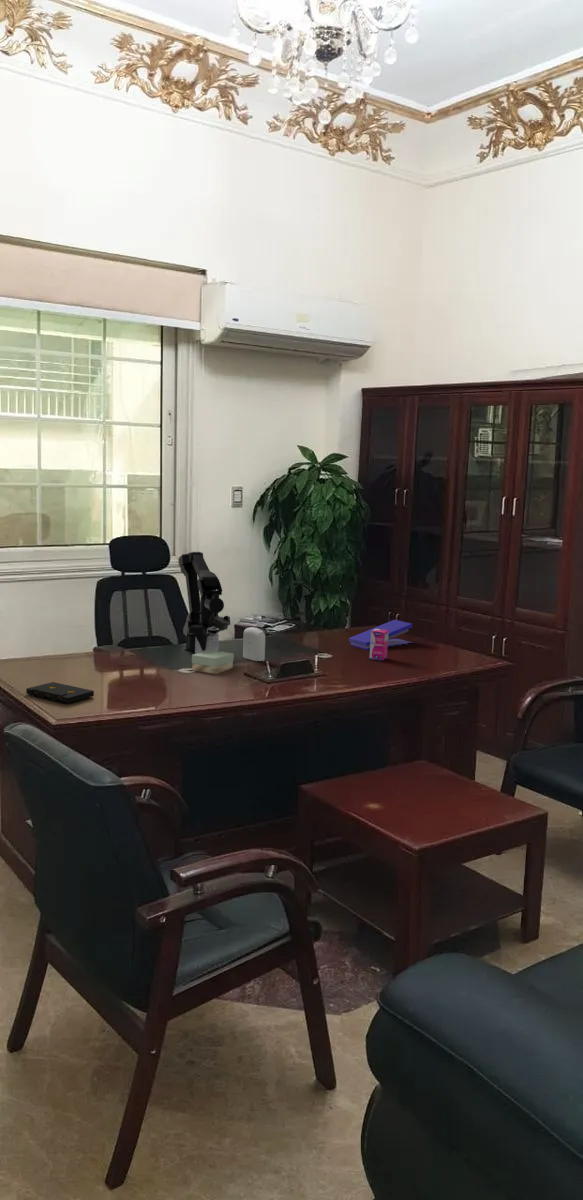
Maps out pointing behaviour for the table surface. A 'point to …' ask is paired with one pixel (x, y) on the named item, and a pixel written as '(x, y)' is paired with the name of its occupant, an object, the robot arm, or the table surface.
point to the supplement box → (379, 644)
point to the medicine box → (208, 643)
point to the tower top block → (212, 658)
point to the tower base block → (212, 668)
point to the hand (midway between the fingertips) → (206, 649)
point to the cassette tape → (59, 692)
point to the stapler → (393, 627)
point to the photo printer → (254, 644)
